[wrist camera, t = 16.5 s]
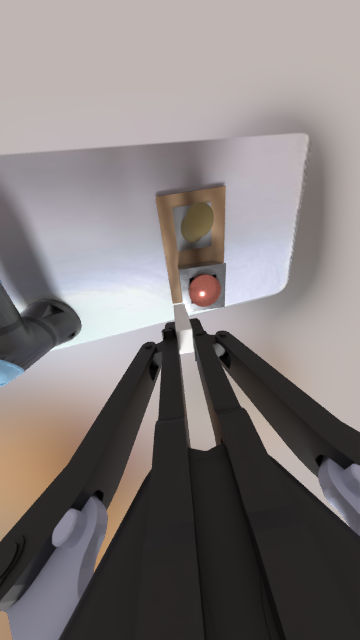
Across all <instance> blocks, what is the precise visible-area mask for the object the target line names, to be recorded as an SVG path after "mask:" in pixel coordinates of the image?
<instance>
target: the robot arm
mask: <svg viewBox="0 0 360 640" xmlns="http://www.w3.org/2000/svg"><path fill="white" fill-rule="evenodd" d="M1 283H2V282H1V281H0V387H2V386H4V385H6V384H8V383H9V382H11V381H12V380H13V379H15V378H16V377H18V376H19V375H21V374H23V372H24V371H25V370H26V369H28V368H29V367H30V366H31V365H33V364H34V363H35V362H36V361H37V360H39V359H40V358H41V357H42V356H44V355H45V354H46V353H47V352H49V351H50V350H51V349H52V348H53V347H55V346H57V345H60V344H62V343H65V342H68V341H70V340H72V339H73V338H74V337H76V336H77V335H78V334H79V332H80V330H81V322H80V319H79V317H78V316H77V314H76V313H75V312H74V311H73V310H72V309H71V308H70V307H68V306H67V305H65V304H63V303H61V302H58V301H55V300H49V299H45V300H40V301H37V302H35V303H32V304H31V305H29V306H28V307H27V308H26V309H25V310H24V311H23V312H21V313H19V312H18V310H17V308H16V307H15V305H14V304H13V302H12V300H11V299H10V297H9V295H8V294H7V292H6V291H5V289H4V287H3V286H2V284H1ZM174 316H175V322H169V323H167V324H166V325H165V329H163V330H162V336H163V341H162V342H160V343H158V344H155V343H154V342H147V343H145V344H143V345H142V347H141V348H140V350H139V352H138V353H137V355H136V356H135V358H134V359H133V361H132V363H131V364H130V366H129V367H128V369H127V371H126V372H125V374H124V375H123V377H122V379H121V380H120V382H119V383H118V385H117V386H116V388H115V390H114V391H113V393H112V395H111V396H110V398H109V399H108V401H107V402H106V404H105V406H104V407H103V409H102V410H101V412H100V414H99V415H98V417H97V418H96V420H95V422H94V423H93V425H92V426H91V428H90V430H89V431H88V433H87V434H86V436H85V438H84V439H83V441H82V443H81V444H80V446H79V447H78V449H77V451H76V452H75V454H74V455H73V457H72V459H71V460H70V462H69V463H68V465H67V466H66V467H65V468H64V469H63V471H62V472H61V473H60V474H59V475H58V476H57V477H56V478H55V480H54V481H53V482H52V483H51V484H50V485H49V486H48V488H47V489H46V490H45V491H44V492H43V494H41V496H40V497H39V498H38V499H37V500H36V502H35V503H34V504H33V505H32V506H31V507H30V508H29V510H28V511H27V512H26V513H25V514H24V515H23V516H22V517H21V519H20V520H19V521H18V522H17V523H16V525H14V527H13V528H12V529H11V530H10V531H9V532H8V534H7V535H6V536H5V537H4V538H3V539H2V541H1V542H0V611H4V612H6V613H7V614H8V619H9V624H10V629H11V634H12V639H13V640H360V432H358V431H357V430H355V429H353V428H352V427H350V426H348V425H346V424H345V423H343V422H341V421H340V420H339V419H337V418H336V417H335V416H334V415H332V414H331V413H330V412H329V411H327V410H326V409H325V408H324V407H322V406H321V405H320V404H318V403H317V402H316V401H315V400H313V399H312V398H311V397H310V396H308V395H307V394H306V393H305V392H303V391H302V390H301V389H299V388H298V387H297V386H296V385H295V384H293V383H292V382H291V381H290V380H288V379H287V378H285V377H284V376H283V375H282V374H281V373H279V372H278V371H277V370H276V369H274V368H273V367H272V366H271V365H269V364H268V363H267V362H266V361H264V360H263V359H262V358H261V357H259V356H258V355H257V354H255V353H254V352H253V351H252V350H250V349H249V348H248V347H247V346H245V345H244V344H243V343H242V342H240V341H239V340H238V339H237V338H235V337H234V336H233V335H231V334H230V333H229V332H227V331H218V332H217V333H216V335H209V334H207V332H206V331H204V330H203V327H202V325H201V323H200V321H199V320H198V319H197V318H194V319H189V317H188V314H187V311H186V307H185V304H179V305H174ZM194 351H195V361H197V366H198V370H199V374H200V378H201V382H202V386H203V390H204V394H205V398H206V402H207V406H208V410H209V414H210V418H211V423H212V427H213V431H214V435H215V441H216V446H215V447H214V448H212V449H210V450H208V451H202V450H196V449H192V448H191V447H190V439H189V430H188V421H187V412H186V404H185V395H184V385H183V377H182V368H181V359H180V354H183V353H190V352H194ZM161 365H162V367H161ZM222 366H223V367H224V368H225V370H226V371H227V372H228V373H229V375H230V376H231V377H232V378H233V379H234V380H235V382H236V383H237V384H238V386H239V387H240V388H241V389H242V390H243V392H244V393H245V394H246V395H247V396H248V398H249V399H250V400H251V402H252V403H253V404H254V405H255V407H256V408H257V409H258V410H259V411H260V412H261V414H262V415H263V416H264V417H265V419H266V420H267V421H268V422H269V424H270V425H271V426H272V427H273V429H274V430H275V431H276V432H277V433H278V435H279V436H280V437H281V438H282V439H283V441H284V442H285V443H286V445H287V446H288V447H289V448H290V449H291V450H292V452H293V453H294V454H295V455H296V456H297V457H298V458H299V460H300V461H301V462H302V463H304V465H305V466H306V467H307V468H308V469H309V470H311V472H312V473H313V474H314V475H316V476H317V477H318V479H319V483H320V486H321V488H322V490H323V493H324V496H325V498H326V499H327V500H328V502H329V503H330V504H331V505H332V506H333V507H334V508H336V509H337V510H338V511H339V512H340V514H341V515H343V517H344V519H345V520H346V522H347V523H348V525H349V526H350V527H349V526H348V525H347V524H346V523H344V522H343V521H342V520H341V519H340V518H339V517H338V516H337V515H336V514H334V513H333V512H332V511H331V510H330V509H329V508H328V507H327V506H326V505H325V504H324V503H322V502H321V501H320V500H319V499H318V498H317V497H316V496H315V495H314V494H313V493H311V492H310V491H309V490H308V489H307V488H306V487H305V486H304V485H302V484H301V483H300V482H299V481H298V480H297V479H296V478H295V477H294V476H293V475H291V474H290V473H289V472H288V471H287V470H286V469H285V468H284V467H283V466H282V465H280V464H279V463H278V462H277V461H276V460H275V459H274V458H272V457H271V456H270V455H268V453H267V451H266V449H265V447H264V445H263V443H262V441H261V439H260V437H259V435H258V433H257V431H256V429H255V427H254V425H253V423H252V420H251V419H250V416H249V414H248V413H247V411H246V410H245V409H244V408H242V407H241V406H240V404H239V402H238V400H237V398H236V396H235V393H234V391H233V389H232V387H231V385H230V383H229V380H228V379H227V376H226V374H225V372H224V369H223V367H222ZM160 369H161V383H160V401H159V416H158V417H159V418H158V421H157V422H156V425H155V433H154V446H153V459H152V469H151V470H150V472H149V473H148V475H147V476H146V478H145V479H144V481H143V483H142V485H141V487H140V489H139V490H138V492H137V494H136V496H135V498H134V500H133V502H132V503H131V505H130V507H129V509H128V511H127V513H126V515H125V517H124V518H123V520H122V522H121V524H120V526H119V528H118V530H117V531H116V533H115V535H114V537H113V539H112V541H111V543H110V544H109V546H108V548H107V550H106V552H105V554H104V556H103V558H102V559H101V561H100V563H99V565H98V567H97V569H96V570H95V572H94V566H95V562H96V558H97V555H98V552H99V550H100V547H101V544H102V542H103V540H104V537H105V534H106V529H107V521H108V516H107V508H108V507H109V505H110V503H111V501H112V498H113V496H114V494H115V492H116V490H117V488H118V485H119V483H120V480H121V478H122V475H123V472H124V470H125V467H126V464H127V461H128V459H129V456H130V453H131V450H132V447H133V445H134V442H135V439H136V436H137V433H138V430H139V428H140V425H141V422H142V419H143V417H144V413H145V411H146V408H147V405H148V403H149V400H150V397H151V394H152V391H153V389H154V386H155V383H156V380H157V377H158V374H159V372H160ZM93 573H94V574H93Z"/></svg>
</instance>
